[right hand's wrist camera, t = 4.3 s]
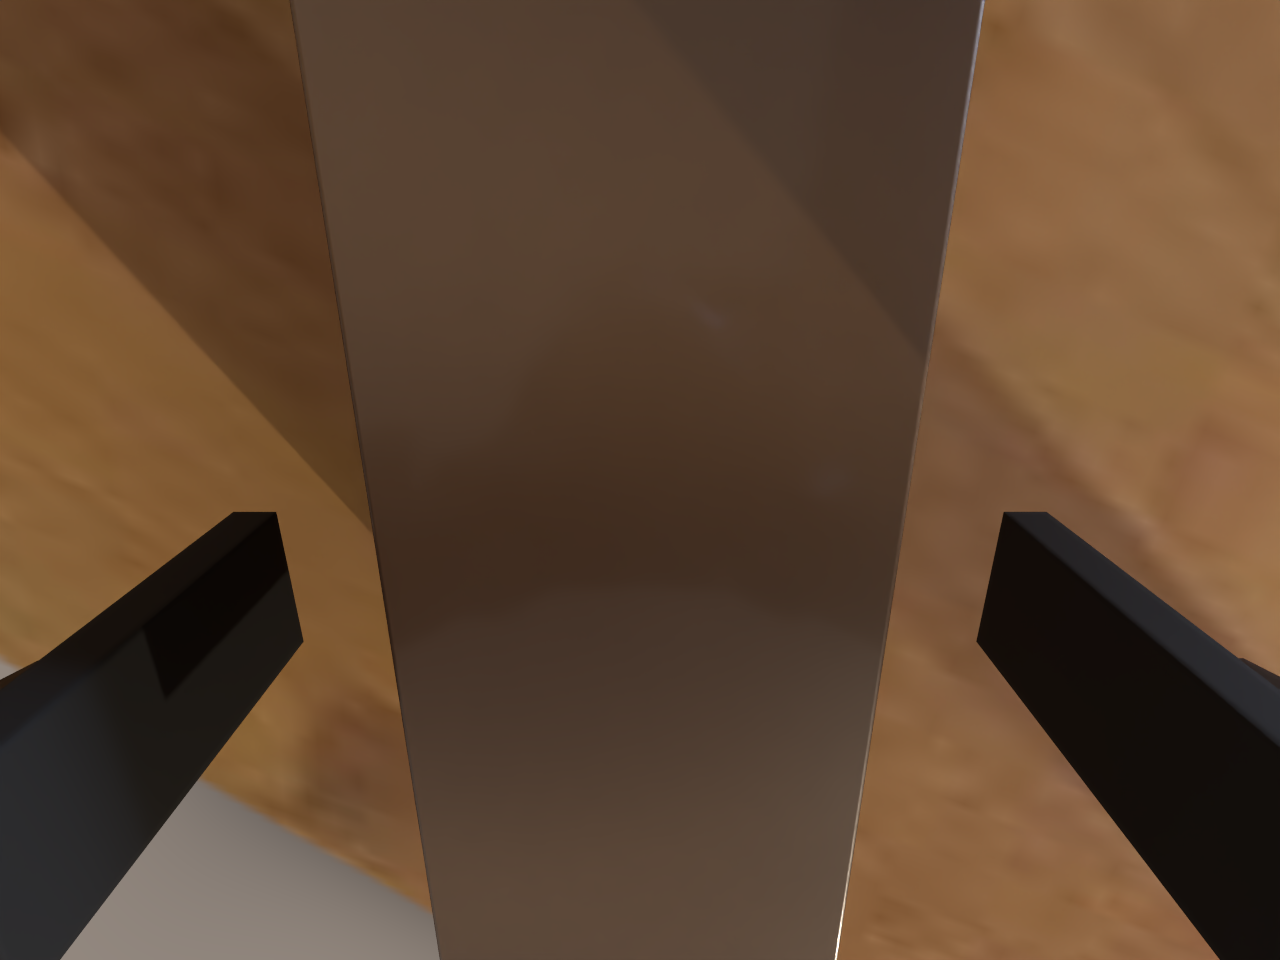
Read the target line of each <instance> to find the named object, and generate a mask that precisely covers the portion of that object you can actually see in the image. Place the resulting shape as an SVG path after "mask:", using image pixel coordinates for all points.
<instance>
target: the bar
mask: <svg viewBox="0 0 1280 960" xmlns="http://www.w3.org/2000/svg"><path fill="white" fill-rule="evenodd" d="M984 4H985V0H290V6H291V12H292V19H293V25H294V32H295V38H296V44H297V51H298V57H299V63H300V70H301V76H302V83H303V89H304V95H305V102H306V108H307V114H308V121H309V127H310V134H311V140H312V146H313V153H314V159H315V166H316V172H317V178H318V185H319V191H320V197H321V204H322V210H323V217H324V223H325V229H326V236H327V242H328V248H329V255H330V261H331V268H332V274H333V280H334V287H335V293H336V299H337V306H338V312H339V319H340V325H341V331H342V338H343V344H344V351H345V357H346V363H347V370H348V376H349V382H350V389H351V395H352V402H353V408H354V414H355V421H356V427H357V433H358V440H359V446H360V453H361V459H362V465H363V472H364V478H365V484H366V491H367V497H368V504H369V510H370V516H371V523H372V529H373V536H374V542H375V548H376V555H377V561H378V567H379V574H380V580H381V587H382V593H383V599H384V606H385V612H386V618H387V625H388V631H389V638H390V644H391V650H392V657H393V663H394V669H395V676H396V682H397V689H398V695H399V701H400V708H401V714H402V721H403V727H404V733H405V740H406V746H407V752H408V759H409V765H410V772H411V778H412V784H413V791H414V797H415V803H416V810H417V816H418V823H419V829H420V835H421V842H422V848H423V854H424V861H425V867H426V874H427V880H428V886H429V893H430V899H431V906H432V912H433V918H434V925H435V931H436V937H437V944H438V950H439V957H440V960H837V956H838V950H839V943H840V937H841V930H842V924H843V917H844V911H845V905H846V898H847V892H848V885H849V879H850V872H851V866H852V859H853V853H854V846H855V840H856V833H857V827H858V820H859V814H860V807H861V801H862V794H863V788H864V781H865V775H866V768H867V762H868V755H869V749H870V743H871V736H872V730H873V723H874V717H875V710H876V704H877V697H878V691H879V684H880V678H881V671H882V665H883V658H884V652H885V645H886V639H887V632H888V626H889V619H890V613H891V606H892V600H893V593H894V587H895V581H896V574H897V568H898V561H899V555H900V548H901V542H902V535H903V529H904V522H905V516H906V509H907V503H908V496H909V490H910V483H911V477H912V470H913V464H914V457H915V451H916V444H917V438H918V431H919V425H920V419H921V412H922V406H923V399H924V393H925V386H926V380H927V373H928V367H929V360H930V354H931V347H932V341H933V334H934V328H935V321H936V315H937V308H938V302H939V295H940V289H941V282H942V276H943V269H944V263H945V257H946V250H947V244H948V237H949V231H950V224H951V218H952V211H953V205H954V198H955V192H956V185H957V179H958V172H959V166H960V159H961V153H962V146H963V140H964V133H965V127H966V120H967V114H968V107H969V101H970V94H971V88H972V82H973V75H974V69H975V62H976V56H977V49H978V43H979V36H980V30H981V23H982V17H983V10H984Z"/></svg>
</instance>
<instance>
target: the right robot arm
mask: <svg viewBox="0 0 1280 960" xmlns="http://www.w3.org/2000/svg"><path fill="white" fill-rule="evenodd" d="M976 642H977V643H978V644H979V645H980V647H981V648H982V649H983V651H984V652H985V653H986V655H987V656H988V657H989V659H990V660H991V661H992V662H993V664H994V665H995V666H996V668H997V669H998V670H999V672H1000V673H1001V674H1002V675H1003V677H1004V678H1005V679H1006V681H1007V682H1008V683H1009V685H1010V686H1011V687H1012V689H1013V690H1014V691H1015V692H1016V694H1017V695H1018V696H1019V698H1020V699H1021V700H1022V702H1023V703H1024V704H1025V706H1026V707H1027V708H1028V709H1029V711H1030V712H1031V713H1032V715H1033V716H1034V717H1035V719H1036V720H1037V721H1038V723H1039V724H1040V725H1041V726H1042V728H1043V729H1044V730H1045V732H1046V733H1047V734H1048V736H1049V737H1050V738H1051V740H1052V741H1053V742H1054V743H1055V745H1056V746H1057V747H1058V749H1059V750H1060V751H1061V753H1062V754H1063V755H1064V757H1065V758H1066V759H1067V760H1068V762H1069V763H1070V764H1071V766H1072V767H1073V768H1074V770H1075V771H1076V772H1077V774H1078V775H1079V776H1080V777H1081V779H1082V780H1083V781H1084V783H1085V784H1086V785H1087V787H1088V788H1089V789H1090V791H1091V792H1092V793H1093V794H1094V796H1095V797H1096V798H1097V800H1098V801H1099V802H1100V804H1101V805H1102V806H1103V807H1104V809H1105V810H1106V811H1107V813H1108V814H1109V815H1110V817H1111V818H1112V819H1113V821H1114V822H1115V823H1116V824H1117V826H1118V827H1119V828H1120V830H1121V831H1122V832H1123V834H1124V835H1125V836H1126V838H1127V839H1128V840H1129V841H1130V843H1131V844H1132V845H1133V847H1134V848H1135V849H1136V851H1137V852H1138V853H1139V855H1140V856H1141V857H1142V858H1143V860H1144V861H1145V862H1146V864H1147V865H1148V866H1149V868H1150V869H1151V870H1152V872H1153V873H1154V874H1155V875H1156V877H1157V878H1158V879H1159V881H1160V882H1161V883H1162V885H1163V886H1164V887H1165V889H1166V890H1167V891H1168V892H1169V894H1170V895H1171V896H1172V898H1173V899H1174V900H1175V902H1176V903H1177V904H1178V906H1179V907H1180V908H1181V909H1182V911H1183V912H1184V913H1185V915H1186V916H1187V917H1188V919H1189V920H1190V921H1191V923H1192V924H1193V925H1194V926H1195V928H1196V929H1197V930H1198V932H1199V933H1200V934H1201V936H1202V937H1203V938H1204V939H1205V941H1206V942H1207V943H1208V945H1209V946H1210V947H1211V949H1212V950H1213V951H1214V953H1215V954H1216V955H1217V956H1218V958H1219V959H1220V960H1280V677H1279V676H1277V675H1275V674H1273V673H1271V672H1269V671H1267V670H1265V669H1263V668H1261V667H1259V666H1257V665H1255V664H1254V663H1252V662H1250V661H1248V660H1246V659H1244V658H1237V657H1236V656H1234V655H1233V654H1232V653H1231V652H1229V651H1228V650H1227V649H1225V648H1224V647H1223V646H1221V645H1220V644H1219V643H1217V642H1216V641H1215V640H1214V639H1212V638H1211V637H1210V636H1208V635H1207V634H1206V633H1204V632H1203V631H1202V630H1200V629H1199V628H1198V627H1196V626H1195V625H1194V624H1193V623H1191V622H1190V621H1189V620H1187V619H1186V618H1185V617H1183V616H1182V615H1181V614H1179V613H1178V612H1177V611H1176V610H1174V609H1173V608H1172V607H1170V606H1169V605H1168V604H1166V603H1165V602H1164V601H1162V600H1161V599H1160V598H1158V597H1157V596H1156V595H1155V594H1153V593H1152V592H1151V591H1149V590H1148V589H1147V588H1145V587H1144V586H1143V585H1141V584H1140V583H1139V582H1138V581H1136V580H1135V579H1134V578H1132V577H1131V576H1130V575H1128V574H1127V573H1126V572H1124V571H1123V570H1122V569H1121V568H1119V567H1118V566H1117V565H1115V564H1114V563H1113V562H1111V561H1110V560H1109V559H1107V558H1106V557H1105V556H1103V555H1102V554H1101V553H1100V552H1098V551H1097V550H1096V549H1094V548H1093V547H1092V546H1090V545H1089V544H1088V543H1086V542H1085V541H1084V540H1083V539H1081V538H1080V537H1079V536H1077V535H1076V534H1075V533H1073V532H1072V531H1071V530H1069V529H1068V528H1067V527H1065V526H1064V525H1063V524H1062V523H1060V522H1059V521H1058V520H1056V519H1055V518H1054V517H1052V516H1051V515H1050V514H1048V513H1047V512H1004V514H1003V518H1002V523H1001V528H1000V533H999V537H998V542H997V547H996V551H995V556H994V561H993V566H992V570H991V575H990V580H989V585H988V589H987V594H986V599H985V604H984V608H983V613H982V618H981V622H980V627H979V632H978V637H977V641H976ZM302 643H303V637H302V632H301V627H300V623H299V618H298V613H297V608H296V604H295V599H294V594H293V589H292V585H291V580H290V575H289V571H288V566H287V561H286V556H285V552H284V547H283V542H282V537H281V533H280V528H279V523H278V518H277V514H276V512H233V513H232V514H230V515H229V516H228V517H226V518H225V519H224V520H222V521H221V522H220V523H218V524H217V525H216V526H214V527H213V528H212V529H211V530H209V531H208V532H207V533H205V534H204V535H203V536H201V537H200V538H199V539H197V540H196V541H195V542H194V543H192V544H191V545H190V546H188V547H187V548H186V549H184V550H183V551H182V552H180V553H179V554H178V555H176V556H175V557H174V558H173V559H171V560H170V561H169V562H167V563H166V564H165V565H163V566H162V567H161V568H159V569H158V570H157V571H156V572H154V573H153V574H152V575H150V576H149V577H148V578H146V579H145V580H144V581H142V582H141V583H140V584H139V585H137V586H136V587H135V588H133V589H132V590H131V591H129V592H128V593H127V594H125V595H124V596H123V597H121V598H120V599H119V600H118V601H116V602H115V603H114V604H112V605H111V606H110V607H108V608H107V609H106V610H104V611H103V612H102V613H101V614H99V615H98V616H97V617H95V618H94V619H93V620H91V621H90V622H89V623H87V624H86V625H85V626H83V627H82V628H81V629H80V630H78V631H77V632H76V633H74V634H73V635H72V636H70V637H69V638H68V639H66V640H65V641H64V642H63V643H61V644H60V645H59V646H57V647H56V648H55V649H53V650H52V651H51V652H49V653H48V654H47V655H45V656H44V657H43V658H42V659H40V660H39V661H36V662H34V663H32V664H30V665H28V666H26V667H24V668H23V669H21V670H19V671H17V672H15V673H13V674H11V675H9V676H7V677H5V678H3V679H1V680H0V960H60V959H61V958H62V956H63V955H64V954H65V953H66V951H67V950H68V949H69V947H70V946H71V945H72V943H73V942H74V941H75V939H76V938H77V937H78V936H79V934H80V933H81V932H82V930H83V929H84V928H85V926H86V925H87V924H88V922H89V921H90V920H91V918H92V917H93V916H94V915H95V913H96V912H97V911H98V909H99V908H100V907H101V905H102V904H103V903H104V902H105V900H106V899H107V898H108V896H109V895H110V894H111V892H112V891H113V890H114V888H115V887H116V886H117V885H118V883H119V882H120V881H121V879H122V878H123V877H124V875H125V874H126V873H127V871H128V870H129V869H130V868H131V866H132V865H133V864H134V862H135V861H136V860H137V858H138V857H139V856H140V854H141V853H142V852H143V851H144V849H145V848H146V847H147V845H148V844H149V843H150V841H151V840H152V839H153V837H154V836H155V835H156V834H157V832H158V831H159V830H160V828H161V827H162V826H163V824H164V823H165V822H166V821H167V819H168V818H169V817H170V815H171V814H172V813H173V811H174V810H175V809H176V807H177V806H178V805H179V804H180V802H181V801H182V800H183V798H184V797H185V796H186V794H187V793H188V792H189V790H190V789H191V788H192V787H193V785H194V784H195V783H196V781H197V780H198V779H199V777H200V776H201V775H202V773H203V772H204V771H205V770H206V768H207V767H208V766H209V764H210V763H211V762H212V760H213V759H214V758H215V756H216V755H217V754H218V753H219V751H220V750H221V749H222V747H223V746H224V745H225V743H226V742H227V741H228V740H229V738H230V737H231V736H232V734H233V733H234V732H235V730H236V729H237V728H238V726H239V725H240V724H241V723H242V721H243V720H244V719H245V717H246V716H247V715H248V713H249V712H250V711H251V709H252V708H253V707H254V706H255V704H256V703H257V702H258V700H259V699H260V698H261V696H262V695H263V694H264V692H265V691H266V690H267V689H268V687H269V686H270V685H271V683H272V682H273V681H274V679H275V678H276V677H277V675H278V674H279V673H280V672H281V670H282V669H283V668H284V666H285V665H286V664H287V662H288V661H289V660H290V658H291V657H292V656H293V655H294V653H295V652H296V651H297V649H298V648H299V647H300V645H301V644H302Z"/></svg>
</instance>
